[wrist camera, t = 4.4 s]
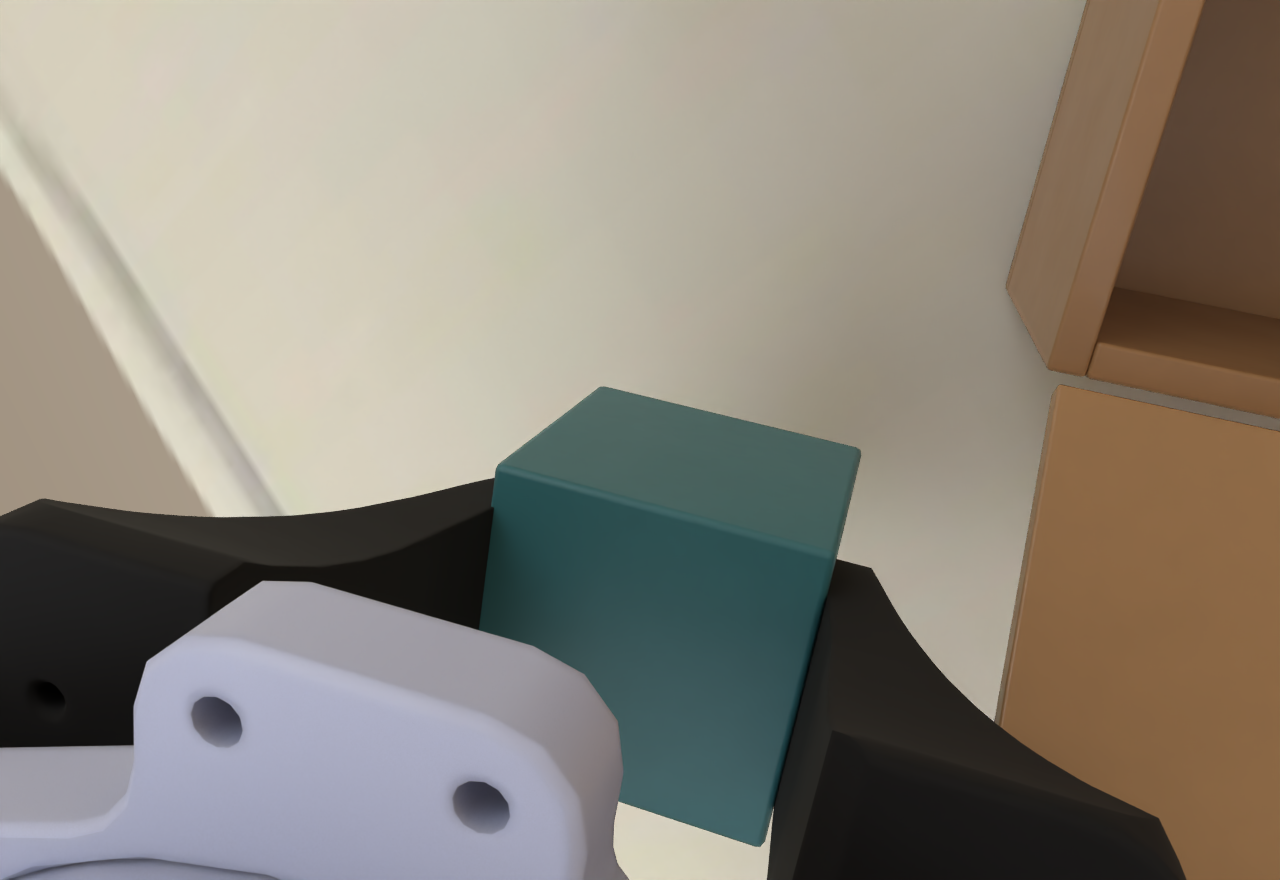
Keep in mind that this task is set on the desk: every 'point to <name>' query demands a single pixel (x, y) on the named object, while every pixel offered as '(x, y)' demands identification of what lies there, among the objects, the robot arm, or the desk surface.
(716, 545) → the block
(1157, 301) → the carton
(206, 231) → the desk surface
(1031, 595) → the flap
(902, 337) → the desk surface
